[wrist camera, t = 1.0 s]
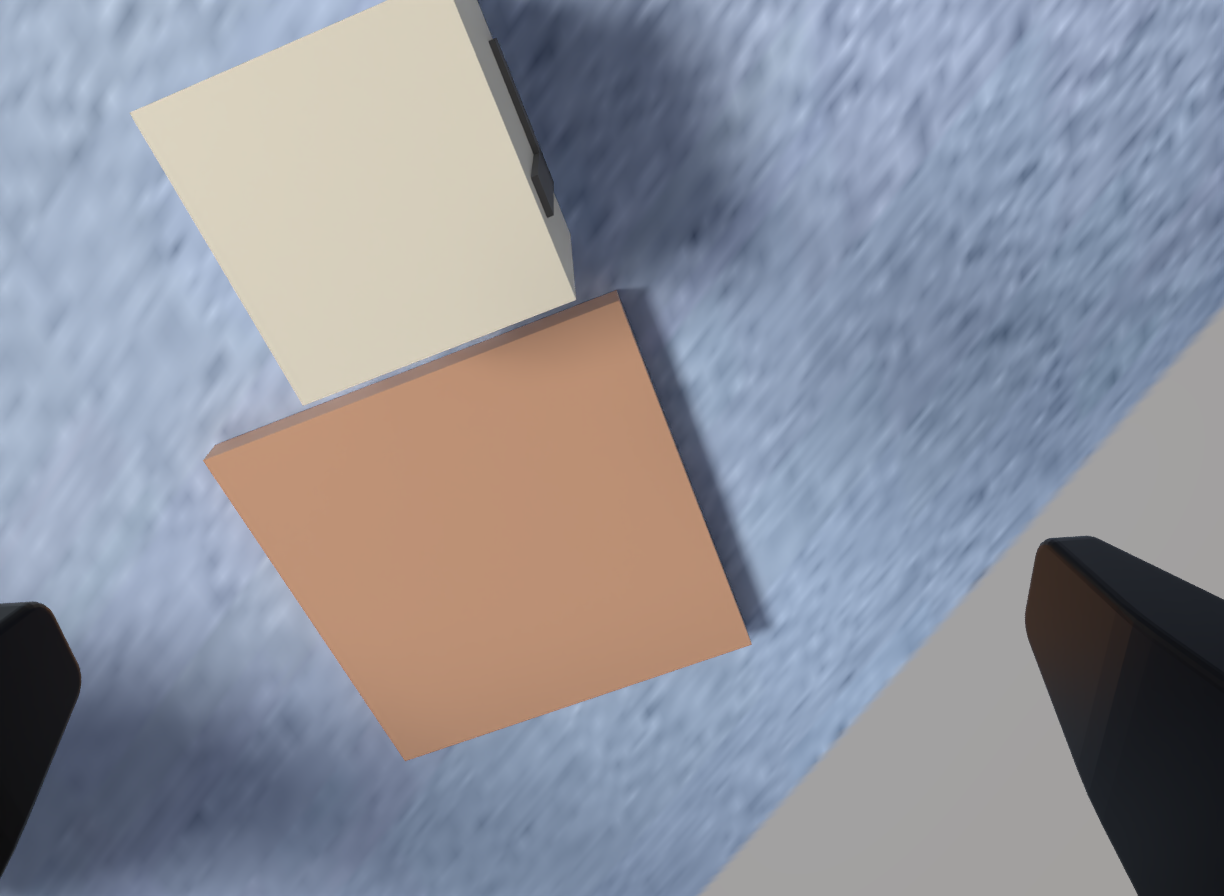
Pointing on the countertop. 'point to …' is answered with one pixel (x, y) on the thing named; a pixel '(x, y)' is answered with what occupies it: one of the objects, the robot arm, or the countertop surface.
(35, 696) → the robot arm
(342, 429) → the terracotta tile
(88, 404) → the countertop surface
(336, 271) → the cream letter cube
